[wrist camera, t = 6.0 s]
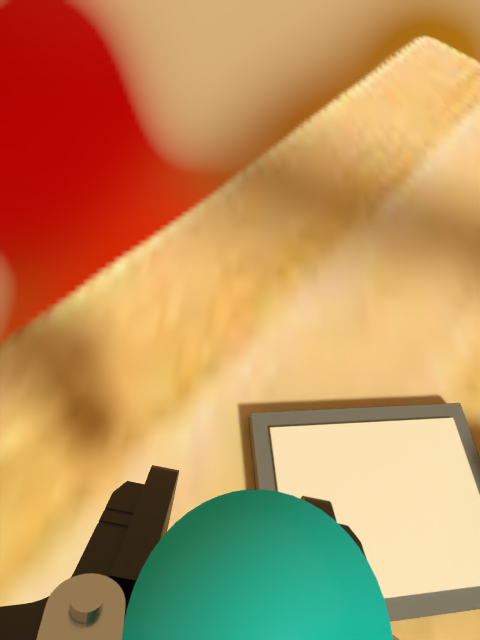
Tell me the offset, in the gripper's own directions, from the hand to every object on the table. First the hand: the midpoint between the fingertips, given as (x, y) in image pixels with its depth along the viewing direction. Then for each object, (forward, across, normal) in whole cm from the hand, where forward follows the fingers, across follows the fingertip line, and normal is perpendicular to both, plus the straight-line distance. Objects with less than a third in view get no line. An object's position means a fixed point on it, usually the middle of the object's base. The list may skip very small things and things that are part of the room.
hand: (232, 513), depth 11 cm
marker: (+2, 0, +4) cm, 5 cm away
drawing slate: (+12, -10, +7) cm, 17 cm away
